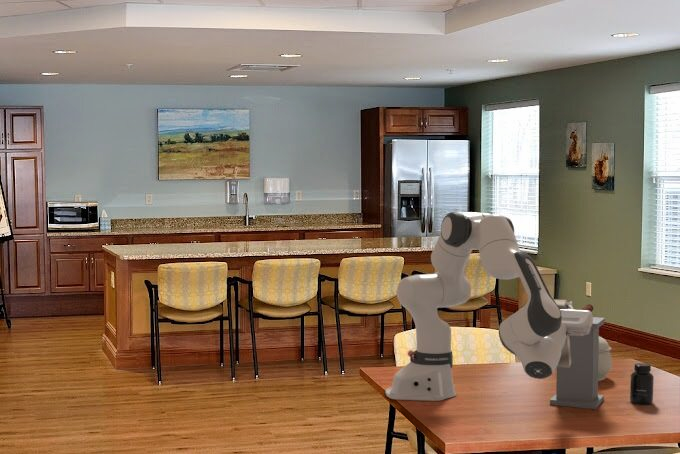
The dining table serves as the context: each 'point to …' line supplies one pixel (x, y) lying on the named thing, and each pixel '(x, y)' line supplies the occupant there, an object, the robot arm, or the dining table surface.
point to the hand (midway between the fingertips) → (560, 303)
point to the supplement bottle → (641, 385)
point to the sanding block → (565, 352)
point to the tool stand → (580, 372)
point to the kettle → (602, 353)
